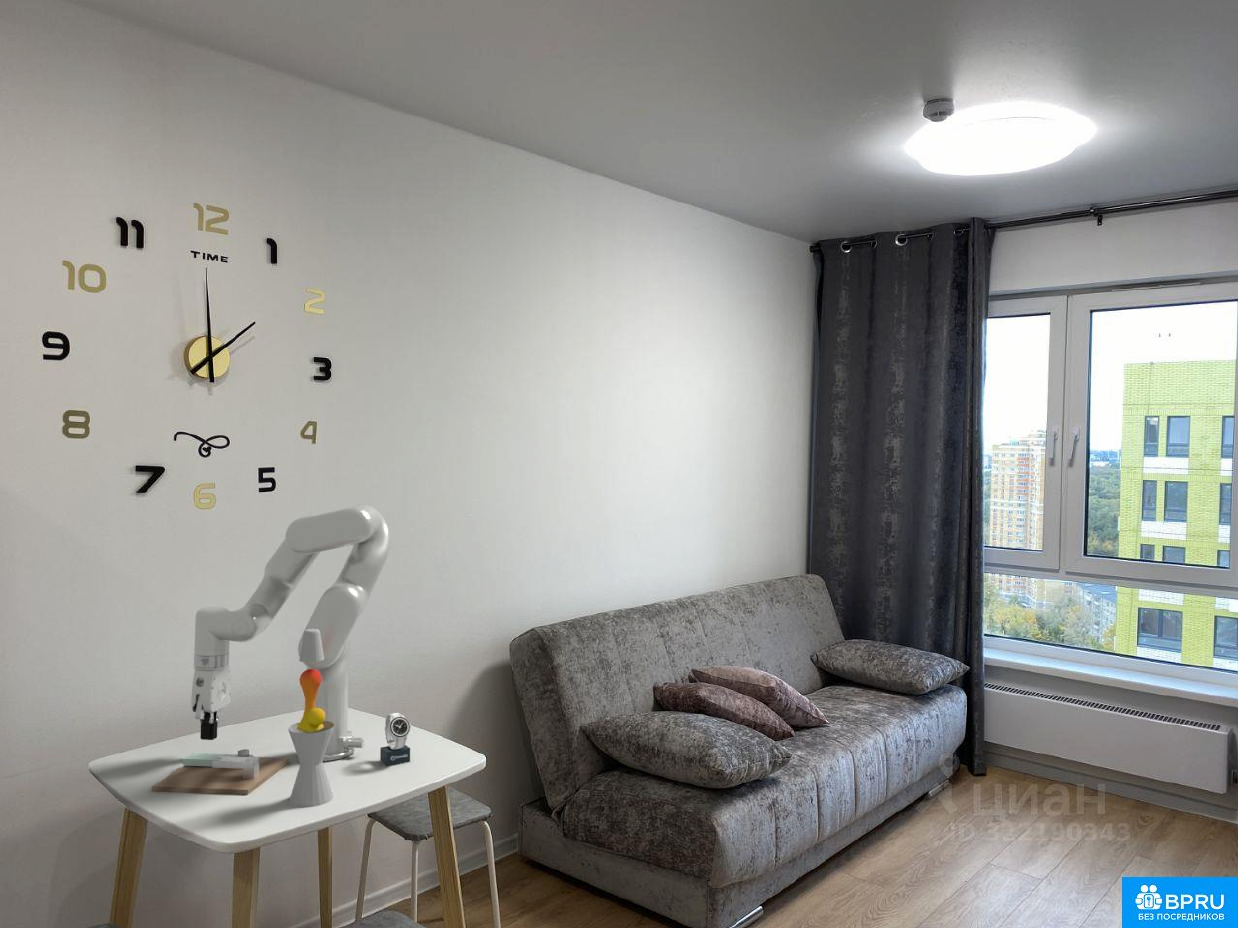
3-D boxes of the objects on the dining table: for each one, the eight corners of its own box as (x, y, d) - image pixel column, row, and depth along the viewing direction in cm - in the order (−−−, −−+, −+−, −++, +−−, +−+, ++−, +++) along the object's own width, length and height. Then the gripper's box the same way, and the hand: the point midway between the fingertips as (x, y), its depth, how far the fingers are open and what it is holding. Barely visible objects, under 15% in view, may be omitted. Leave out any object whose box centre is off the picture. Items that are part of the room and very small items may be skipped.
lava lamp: (278, 801, 188) (279, 630, 188) (314, 787, 196) (314, 623, 196) (308, 810, 184) (308, 635, 183) (343, 796, 191) (344, 628, 191)
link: (257, 761, 208) (257, 754, 208) (248, 767, 204) (248, 761, 204) (193, 759, 210) (193, 752, 210) (182, 765, 205) (182, 758, 205)
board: (289, 762, 212) (289, 743, 212) (248, 794, 192) (248, 773, 192) (201, 759, 213) (201, 740, 213) (151, 790, 193) (151, 770, 193)
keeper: (259, 774, 201) (259, 757, 201) (253, 779, 198) (253, 761, 198) (219, 772, 202) (219, 756, 202) (212, 777, 199) (212, 760, 199)
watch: (390, 768, 208) (390, 720, 208) (377, 758, 215) (377, 711, 215) (413, 763, 211) (413, 716, 211) (400, 754, 218) (400, 708, 218)
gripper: (210, 668, 207) (207, 749, 207) (242, 654, 222) (239, 730, 222) (178, 666, 208) (175, 747, 208) (212, 652, 223) (209, 728, 223)
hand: (208, 738), depth 215 cm, fingers closed
